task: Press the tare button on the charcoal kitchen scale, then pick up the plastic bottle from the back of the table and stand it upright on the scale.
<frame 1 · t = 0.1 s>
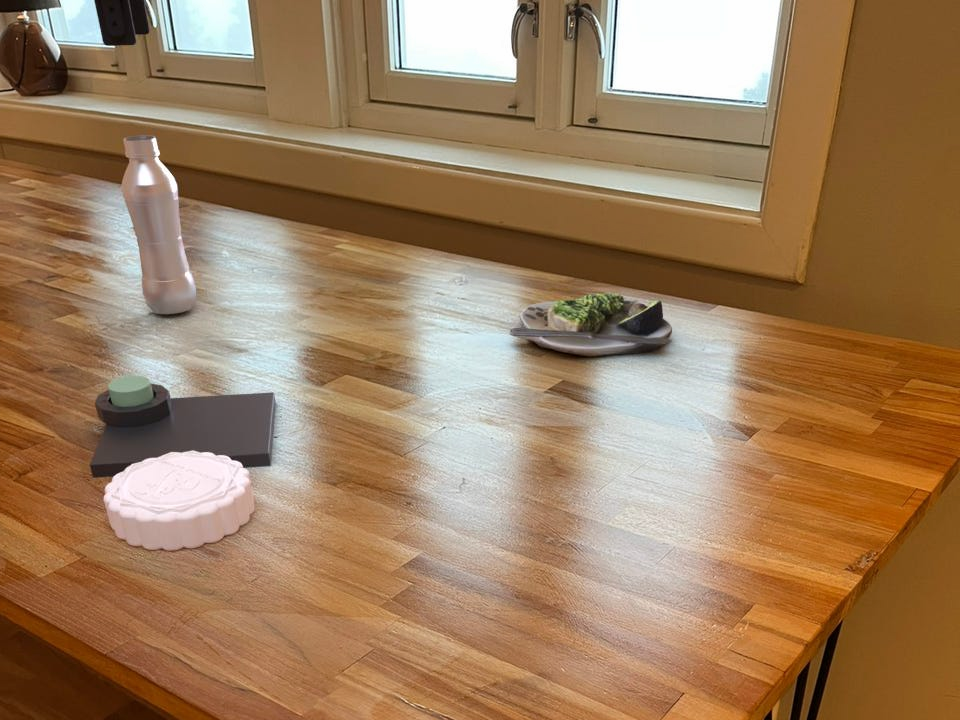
hand: (128, 39, 100), 30 cm above the table, tool pointing down, fingers open, 9 cm apart
plastic bottle: (174, 313, 123), on the table
tare button: (131, 392, 95), point 3 cm above the table, slide at 0.1 cm
mooncake: (184, 517, 83), on the table
salad plate: (599, 336, 116), on the table
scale: (190, 439, 94), on the table
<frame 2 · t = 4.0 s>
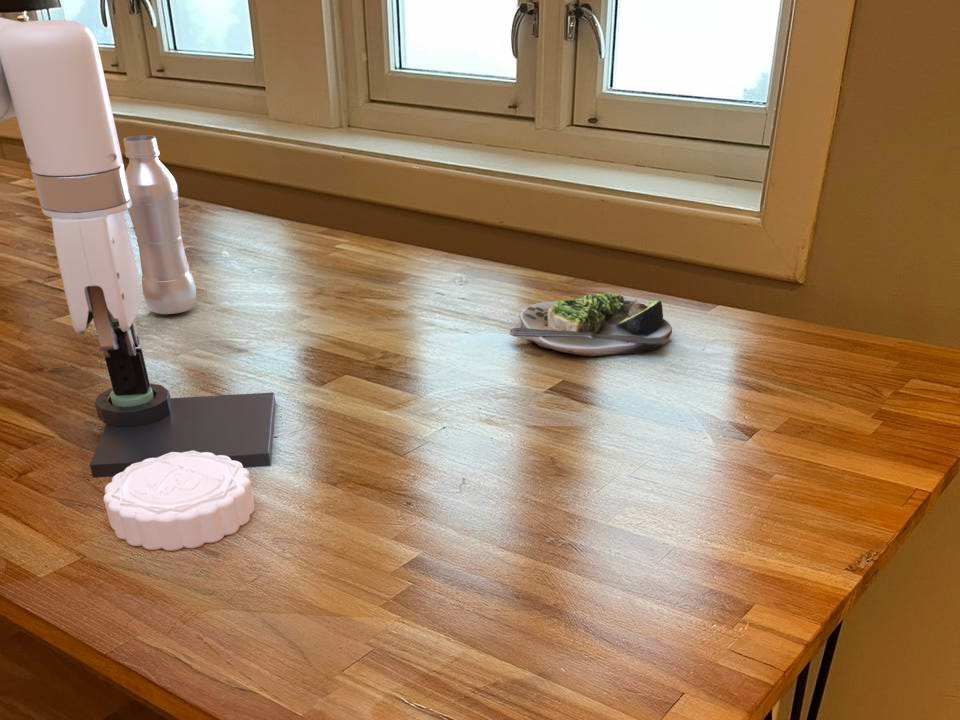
hand: (132, 391, 94), 4 cm above the table, tool pointing down, fingers closed
tare button: (133, 399, 95), point 3 cm above the table, slide at -0.7 cm, touching gripper
everything else where it was.
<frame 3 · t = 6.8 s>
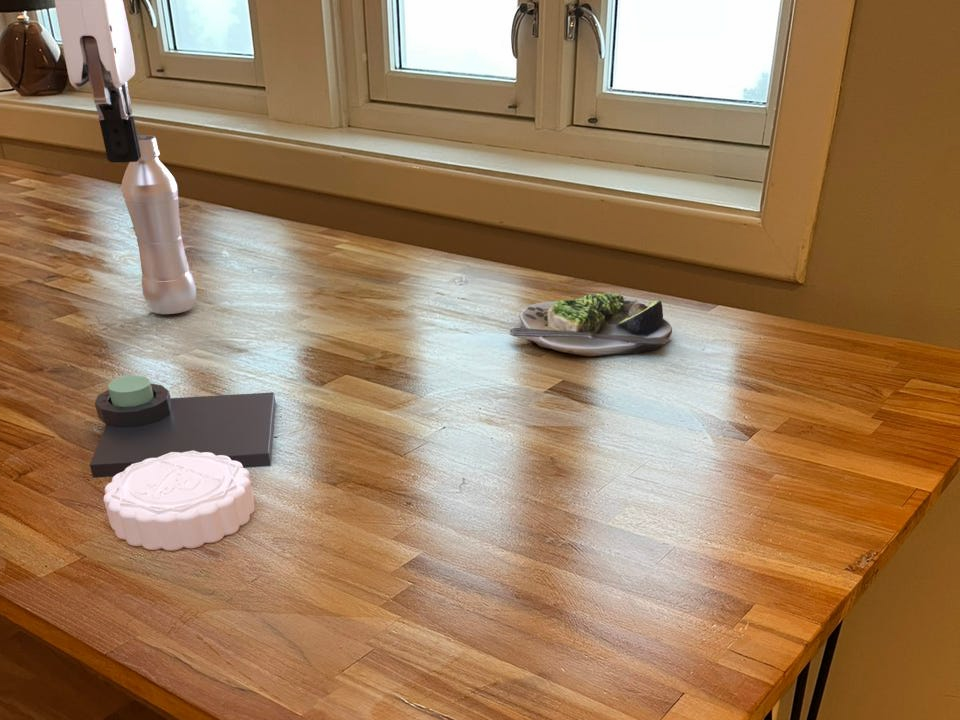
hand: (125, 160, 102), 20 cm above the table, tool pointing down, fingers closed
tare button: (131, 392, 95), point 3 cm above the table, slide at 0.1 cm
everything else where it was.
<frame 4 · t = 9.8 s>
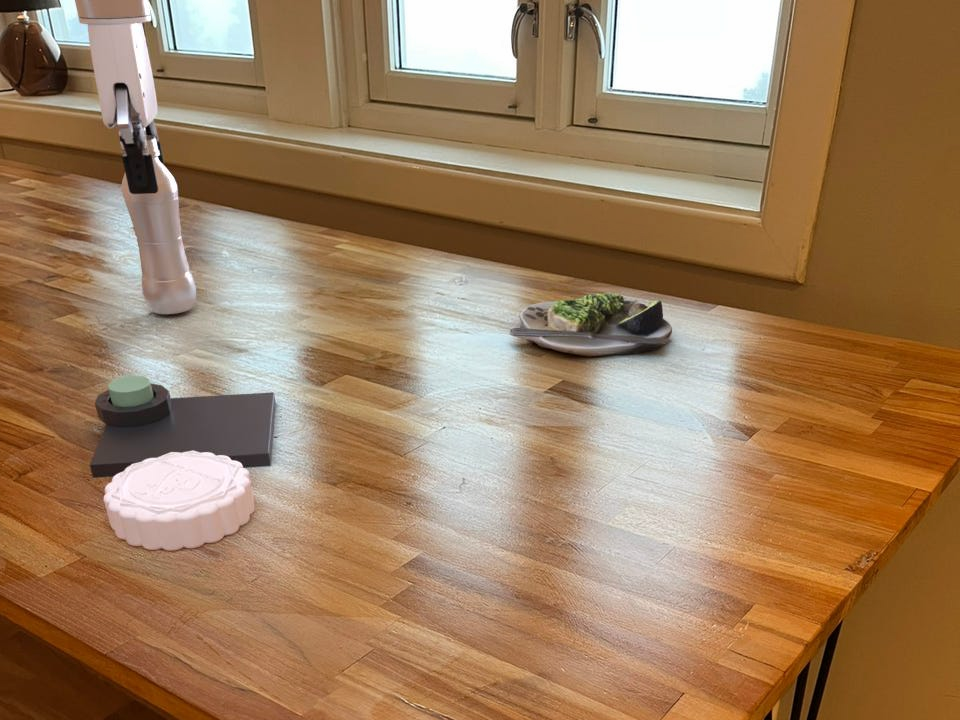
hand: (148, 184, 114), 15 cm above the table, tool pointing down, fingers closed on plastic bottle, 6 cm apart
plastic bottle: (174, 312, 123), on the table, touching gripper
everything else where it was.
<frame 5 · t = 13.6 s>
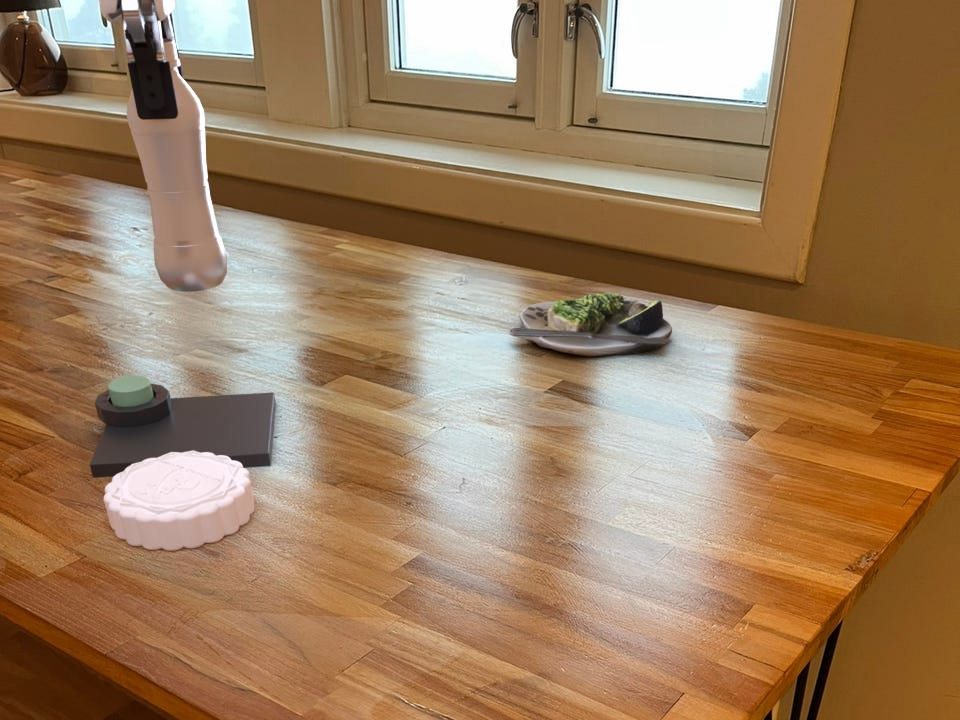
hand: (163, 108, 82), 28 cm above the table, tool pointing down, fingers closed on plastic bottle, 6 cm apart
plastic bottle: (196, 290, 91), point 12 cm above the table, touching gripper
everything else where it was.
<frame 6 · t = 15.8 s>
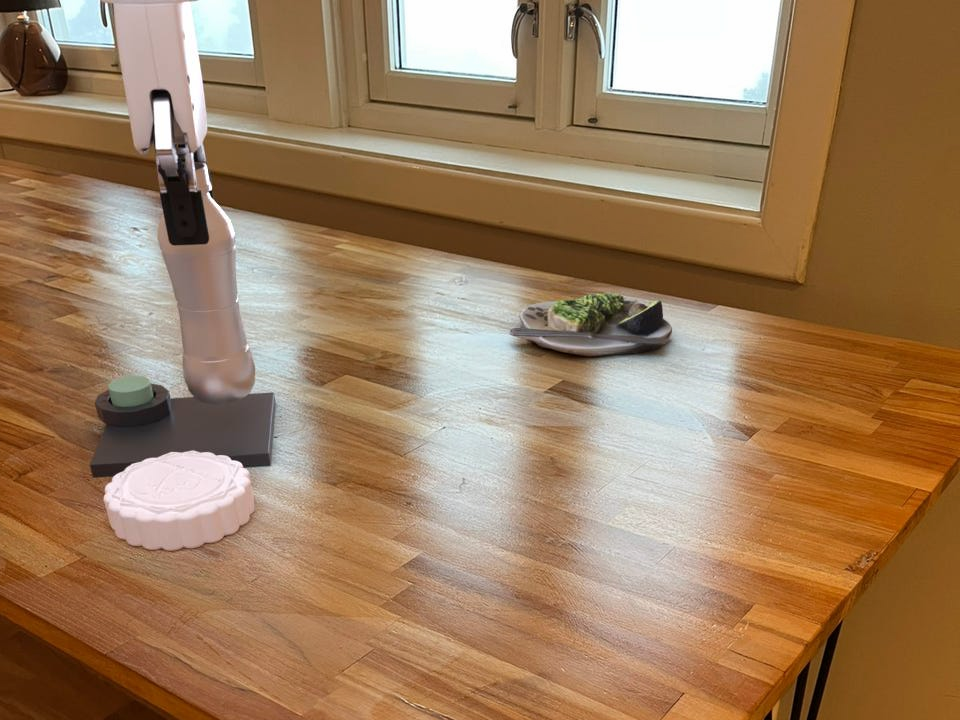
hand: (194, 230, 82), 20 cm above the table, tool pointing down, fingers closed on plastic bottle, 6 cm apart
plastic bottle: (224, 399, 91), point 4 cm above the table, touching gripper
everything else where it was.
when the fingers open (16 cm above the table, at t = 17.3 s): plastic bottle stays where it is, resting on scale.
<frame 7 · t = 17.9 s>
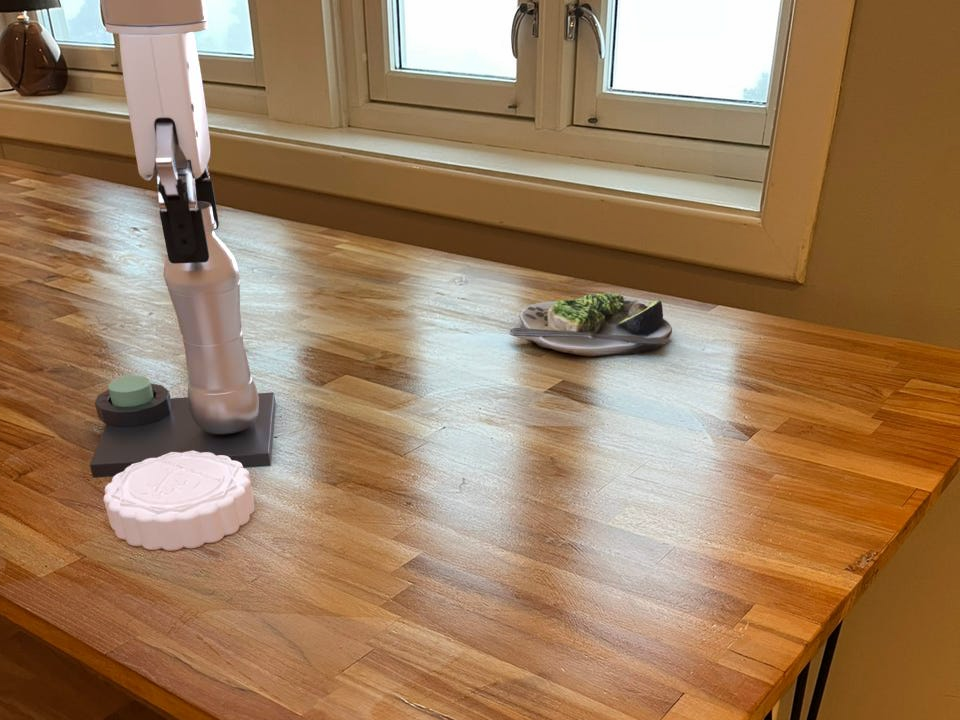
hand: (195, 244, 83), 18 cm above the table, tool pointing down, fingers open, 9 cm apart
plastic bottle: (229, 429, 93), point 1 cm above the table, touching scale
everything else where it was.
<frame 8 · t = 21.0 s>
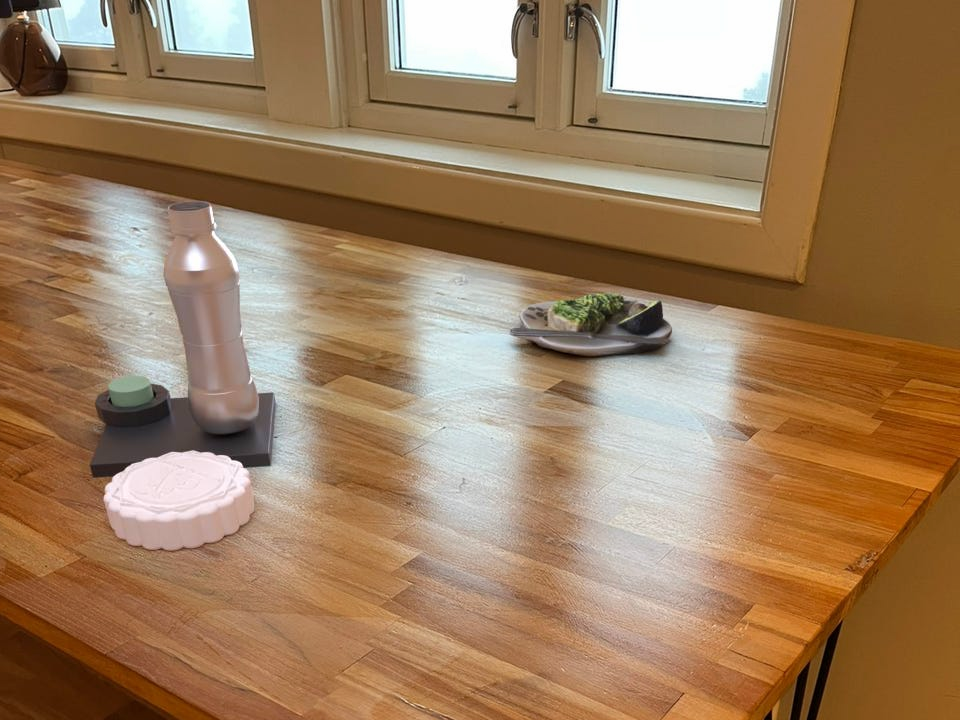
hand: (8, 12, 82), 34 cm above the table, tool pointing down, fingers open, 9 cm apart
nothing on the table moved.
at the end: tare button pushed in 0.9 cm at the most during the clip, back to where it started at the end; plastic bottle inside the target area on the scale (0.1 cm from its centre), point 1.2 cm above the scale's base; plastic bottle touching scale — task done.
